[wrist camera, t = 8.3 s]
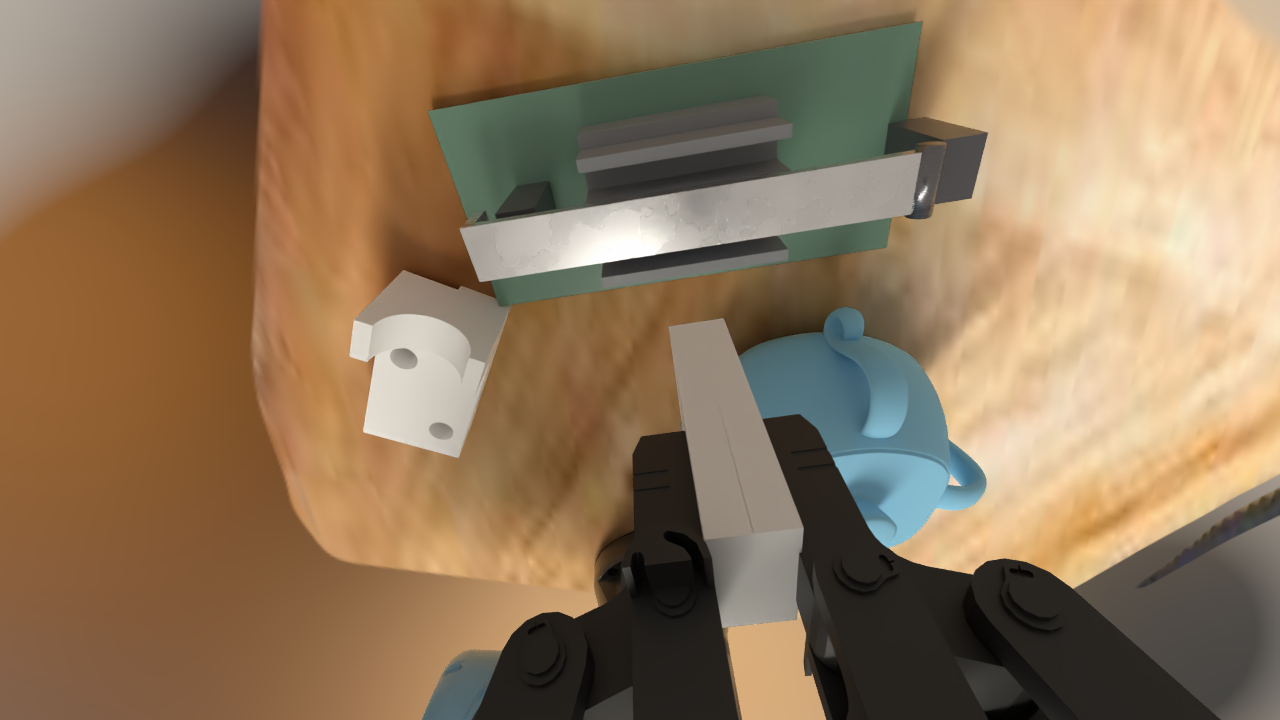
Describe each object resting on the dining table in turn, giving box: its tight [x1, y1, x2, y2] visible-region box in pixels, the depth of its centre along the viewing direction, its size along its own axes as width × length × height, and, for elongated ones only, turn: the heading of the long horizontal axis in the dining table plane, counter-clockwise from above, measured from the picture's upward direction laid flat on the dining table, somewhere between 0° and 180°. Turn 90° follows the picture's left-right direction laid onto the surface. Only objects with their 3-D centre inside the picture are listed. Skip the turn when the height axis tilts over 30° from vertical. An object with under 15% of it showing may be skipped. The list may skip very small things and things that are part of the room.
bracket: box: [349, 270, 511, 458], centre depth 32 cm, size 13×7×8 cm, turn 155°
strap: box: [460, 141, 947, 282], centre depth 23 cm, size 3×23×3 cm, turn 99°
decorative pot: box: [681, 307, 987, 548], centre depth 32 cm, size 16×16×14 cm
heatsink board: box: [428, 22, 988, 306], centre depth 25 cm, size 12×27×6 cm, turn 99°
